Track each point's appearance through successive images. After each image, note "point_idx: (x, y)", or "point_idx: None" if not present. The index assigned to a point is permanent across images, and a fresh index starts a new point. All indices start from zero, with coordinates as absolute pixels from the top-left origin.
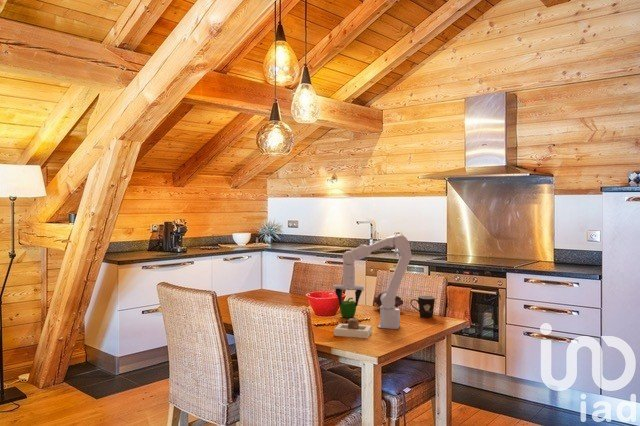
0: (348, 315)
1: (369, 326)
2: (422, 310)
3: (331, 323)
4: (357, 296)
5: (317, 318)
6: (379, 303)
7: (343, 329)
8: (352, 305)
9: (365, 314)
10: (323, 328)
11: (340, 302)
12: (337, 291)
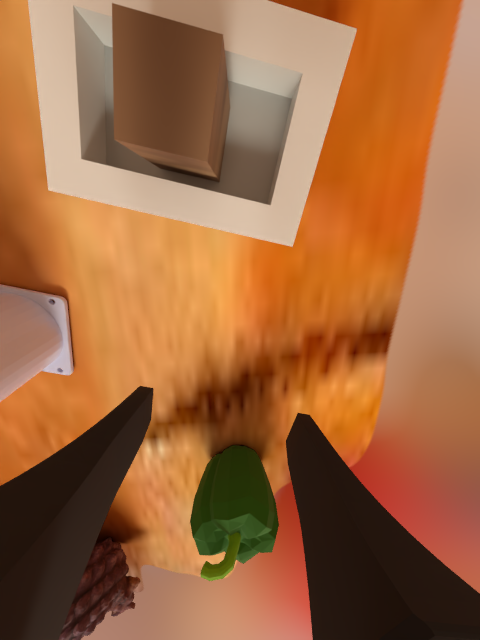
0: (232, 453)
1: (58, 161)
2: None
3: (316, 367)
4: (40, 479)
5: (370, 437)
6: (109, 564)
7: (270, 5)
8: (209, 510)
9: (167, 491)
10: (375, 269)
11: (309, 432)
12: (473, 633)
